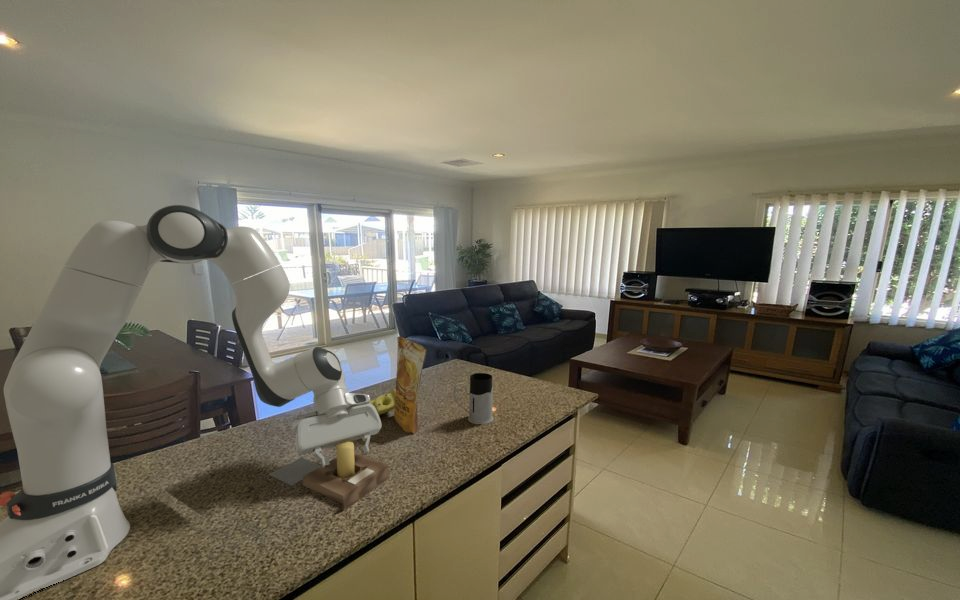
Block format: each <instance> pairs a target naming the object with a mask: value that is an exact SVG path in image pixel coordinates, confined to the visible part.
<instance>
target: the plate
mask: <svg viewBox="0 0 960 600" xmlns="http://www.w3.org/2000/svg"><path fill="white" fill-rule="evenodd" d="M321 466H322V465H320V464H318V463H315V462H313V461H311V460H309V459H306V458H304V457H300V458H297V459H296V460H294V461H291V462H290V463H288V464H286V465H284V466H282V467H280V468H278V469H276V470H275V471H272V472H271V473H269V474H268V476H270V477H272V478H275V479H277V480H278V481H281V482H283V483H285V484H286V485H289V486H291V487H292V486H294V485H295V484H297V483H299V482H302V477H303V476H305V475H307V474H308V473H310V472H312V471H314V470H315V469H317V468H319V467H321Z"/></svg>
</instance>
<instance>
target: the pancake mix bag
mask: <svg viewBox="0 0 960 600" xmlns="http://www.w3.org/2000/svg"><path fill="white" fill-rule="evenodd" d="M396 339H397V357H396V377H395V378H396V380H395V381H396V382H395V389H396V393H395V408H394V409H393V416H394V421H395V422H396V423H397V424H398V426H399V427H402V428H401V429H402V430H403V431H404V432H405V433H408V434H409V433H412V434H413V435H415V434H416V433H417V432H418V430H419V428H418V427H419V425H418V395H419V389H420V384H421V379H422V378H421V377H422V373H423V367H424V364H425V362H426V361H425V360H426V357H427V349H426V348H425V346H423V345H422V344H419V343H418V342H414V341H413V340H411V339H408V338H406V337H404V336H401V335H400V336H397V337H396Z"/></svg>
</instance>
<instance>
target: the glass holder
mask: <svg viewBox="0 0 960 600" xmlns="http://www.w3.org/2000/svg"><path fill="white" fill-rule="evenodd" d="M460 385H462V386H464V390H465V391H464V393H465V394H466V395H468V396H469V399H468V400H469V403H468V404H469V407H468V409H469V410H468V409H466V408H464V406H462V405H461V404H460V403H459V401H458V400H457V397H456V390H457V387H458V386H460ZM493 387H494V386H493V375H491V374H489V373H485V372H477V373H472V374H470V376H469V390H468V389H467V385H466V384H465V383H463V382H459V383H457V384H455V386H454V388H453V397H454V400H455V402H456V404H457V405H458V407H460V408H461V409H462V410H464V411H465V412H467V413H468V417H467V420H468V422H469V423H471V424H473V425H478V424H484V425H488V423H489V424H491V423H493V422H494V416H493V391H494V390H493ZM467 390H468V391H469V393H468V391H467ZM490 422H491V423H490Z"/></svg>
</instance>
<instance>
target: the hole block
mask: <svg viewBox="0 0 960 600" xmlns="http://www.w3.org/2000/svg"><path fill="white" fill-rule="evenodd" d="M354 461H355V474H354V475H353V476H351V477H350V478H344V479H341V478H339V477H338V476H337V456H336V457H335V458H333V459H331V460H329V462H330V465H329V466H328V467H325V468H322V465H320V466H321V467H319V468H317V469H315V470H314V471H312V472H310V473H308V474H307V475H305V476H303V477H302V480H301V482H302V486H304V487H305V488H308V489H309V490H312V491H314V492H316V493H319V494H321V495H322V496H324V497H326V498H329V499H331V500H333V501H335V502H337V503H340V504H341V505H339V506H337V508H338V509H339V510H341V511H346V510H347V509H349V508H350V507H352V506H353V505H354V504H356V503H357V502H358V501H359V500H361V499H362V498H363V497H365V496H366V495H368V494H369V493H370V492H371V491H373V490H374V489H376V488H377V487H378V486H379V485H381V484H382V483H384V482H386V481H387V480H388V479H389V478H390V477H389V475H390V474H389V473H390V472H389V470H390V469H389V464H387V463H386V462H382V461H379V460H377V459H374V458H371V457H369V456H366V455H363V456H362V453H361V454H360V453H358V452H355V451H354Z"/></svg>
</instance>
